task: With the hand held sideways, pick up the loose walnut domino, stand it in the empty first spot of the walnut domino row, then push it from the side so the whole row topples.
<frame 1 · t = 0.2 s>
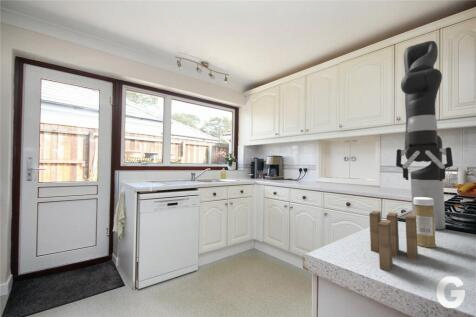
hand: (423, 180, 75), 18 cm above the counter, tool pointing down, fingers open, 8 cm apart
domino a: (412, 255, 59), on the counter
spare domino: (386, 266, 53), on the counter
domino b: (393, 251, 61), on the counter
sprinkles bottle: (425, 245, 66), on the counter
end domino: (376, 248, 64), on the counter
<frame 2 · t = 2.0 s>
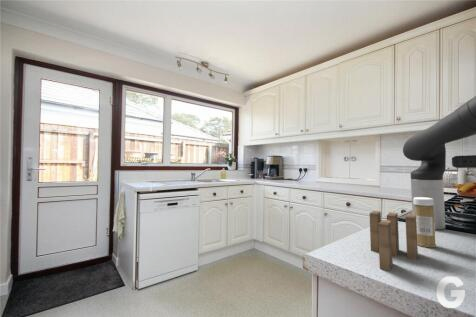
hand: (452, 161, 46), 24 cm above the counter, tool horizontal, fingers open, 8 cm apart
nothing on the counter moved.
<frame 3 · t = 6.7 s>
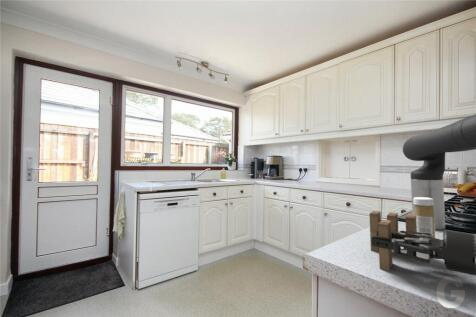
hand: (374, 237, 55), 6 cm above the counter, tool horizontal, fingers closed on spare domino, 5 cm apart
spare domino: (386, 265, 53), on the counter, touching gripper
everything else where it was.
when the fingers open (7 cm above the counter, at t = 12.5 s): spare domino stays where it is, on the counter.
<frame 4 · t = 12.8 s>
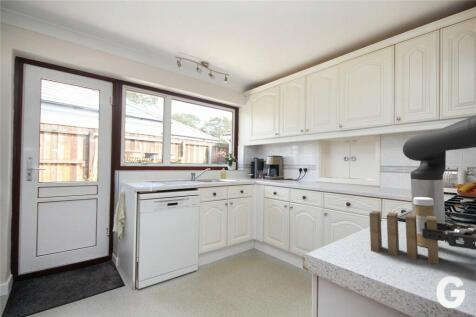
hand: (423, 229, 57), 7 cm above the counter, tool horizontal, fingers open, 7 cm apart
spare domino: (433, 259, 56), on the counter
everything else where it was.
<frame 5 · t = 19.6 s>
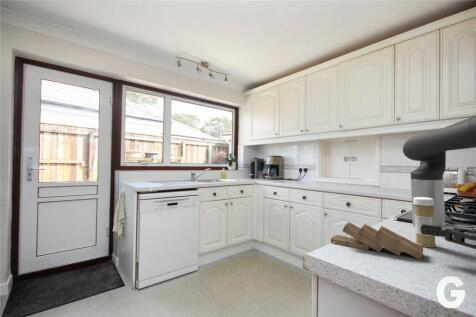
hand: (421, 229, 58), 7 cm above the counter, tool horizontal, fingers closed
domino a: (401, 250, 60), point 1 cm above the counter, tilted 64°, touching domino b
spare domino: (421, 253, 58), point 1 cm above the counter, tilted 64°
domino b: (381, 246, 63), point 1 cm above the counter, tilted 64°, touching domino a, end domino
end domino: (370, 246, 65), on the counter, tilted 90°, touching domino b
everything else where it was.
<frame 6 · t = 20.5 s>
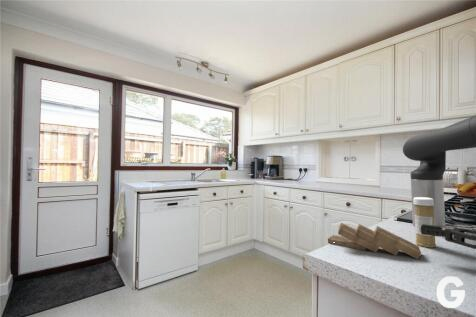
hand: (421, 229, 58), 7 cm above the counter, tool horizontal, fingers closed
domino a: (396, 248, 61), point 1 cm above the counter, tilted 65°, touching domino b, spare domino
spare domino: (418, 252, 58), point 1 cm above the counter, tilted 65°, touching domino a
domino b: (376, 245, 63), point 1 cm above the counter, tilted 66°, touching domino a, end domino
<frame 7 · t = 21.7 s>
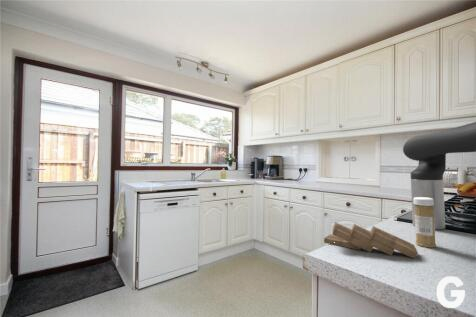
domino a: (391, 248, 61), point 1 cm above the counter, tilted 66°
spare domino: (414, 251, 59), point 1 cm above the counter, tilted 66°
domino b: (370, 245, 63), point 1 cm above the counter, tilted 67°
end domino: (362, 246, 65), on the counter, tilted 90°
everything else where it was.
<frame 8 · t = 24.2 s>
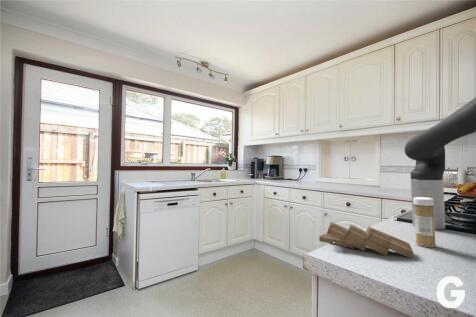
domino a: (387, 249, 61), point 1 cm above the counter, tilted 67°, touching domino b, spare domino
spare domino: (409, 250, 59), point 1 cm above the counter, tilted 68°, touching domino a
domino b: (365, 244, 64), point 1 cm above the counter, tilted 68°, touching domino a, end domino
end domino: (356, 244, 66), on the counter, tilted 90°, touching domino b
everything else where it was.
at the end: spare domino inside the target area (3.6 cm from its centre), point 1.2 cm above the counter; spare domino tilted 69°; end domino tilted 90° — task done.
